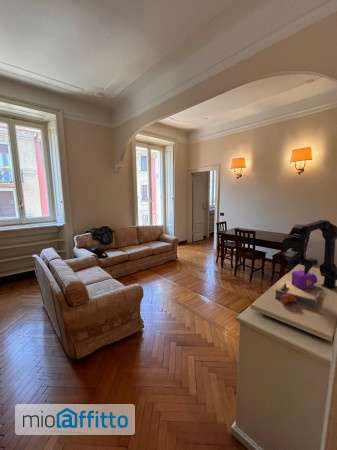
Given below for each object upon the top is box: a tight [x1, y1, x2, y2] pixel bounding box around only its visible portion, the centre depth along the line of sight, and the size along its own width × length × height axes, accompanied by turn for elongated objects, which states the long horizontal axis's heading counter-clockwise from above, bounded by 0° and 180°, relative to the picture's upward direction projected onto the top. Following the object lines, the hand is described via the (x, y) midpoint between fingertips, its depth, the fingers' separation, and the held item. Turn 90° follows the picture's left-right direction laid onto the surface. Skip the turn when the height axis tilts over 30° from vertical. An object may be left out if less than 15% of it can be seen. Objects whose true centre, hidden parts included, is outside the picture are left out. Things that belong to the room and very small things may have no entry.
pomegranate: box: [280, 291, 297, 310], centre depth 111 cm, size 7×7×10 cm
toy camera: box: [291, 269, 318, 290], centre depth 133 cm, size 11×14×10 cm
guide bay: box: [275, 282, 321, 311], centre depth 120 cm, size 20×19×5 cm
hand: (298, 272), depth 121 cm, fingers open, 9 cm apart
